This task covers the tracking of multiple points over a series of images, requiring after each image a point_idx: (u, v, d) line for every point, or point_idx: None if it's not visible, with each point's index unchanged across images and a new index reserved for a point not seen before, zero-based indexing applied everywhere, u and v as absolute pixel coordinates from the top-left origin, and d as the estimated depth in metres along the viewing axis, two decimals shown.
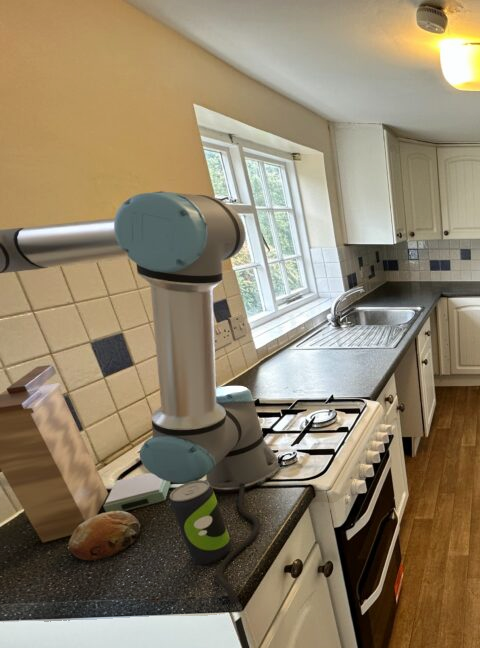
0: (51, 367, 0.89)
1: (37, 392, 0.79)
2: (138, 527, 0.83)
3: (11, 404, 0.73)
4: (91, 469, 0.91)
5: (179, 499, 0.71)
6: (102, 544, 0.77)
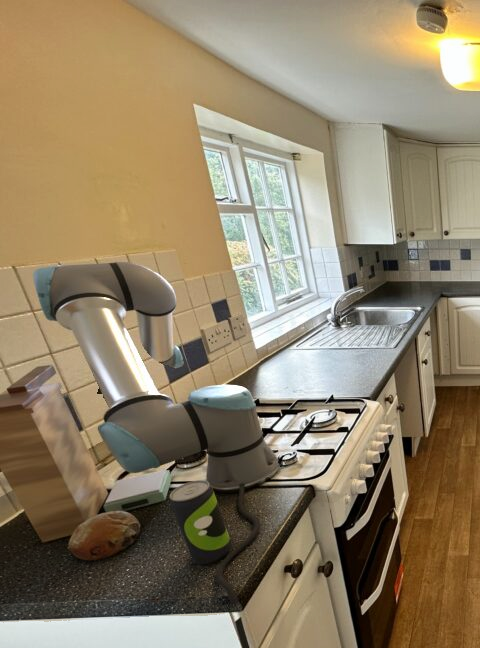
0: (51, 367, 0.89)
1: (37, 392, 0.79)
2: (138, 527, 0.83)
3: (11, 404, 0.73)
4: (91, 469, 0.91)
5: (179, 499, 0.71)
6: (102, 544, 0.77)
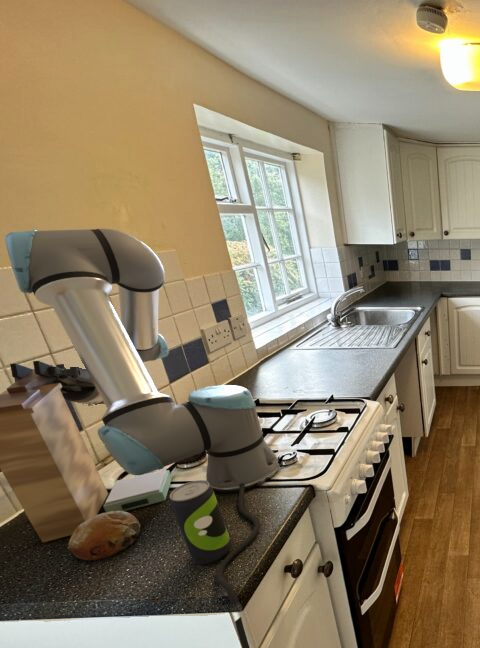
0: None
1: (37, 392, 0.79)
2: (138, 527, 0.83)
3: (11, 404, 0.73)
4: (91, 469, 0.91)
5: (179, 499, 0.71)
6: (102, 544, 0.77)
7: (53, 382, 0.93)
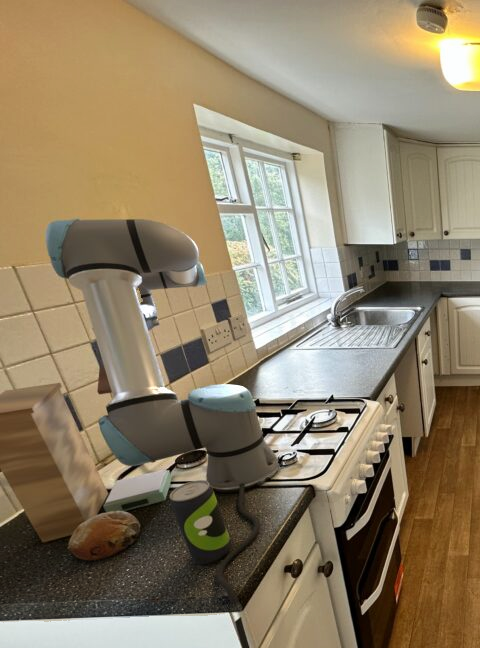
0: None
1: None
2: (138, 527, 0.83)
3: None
4: (91, 469, 0.91)
5: (179, 499, 0.71)
6: (102, 544, 0.77)
7: None
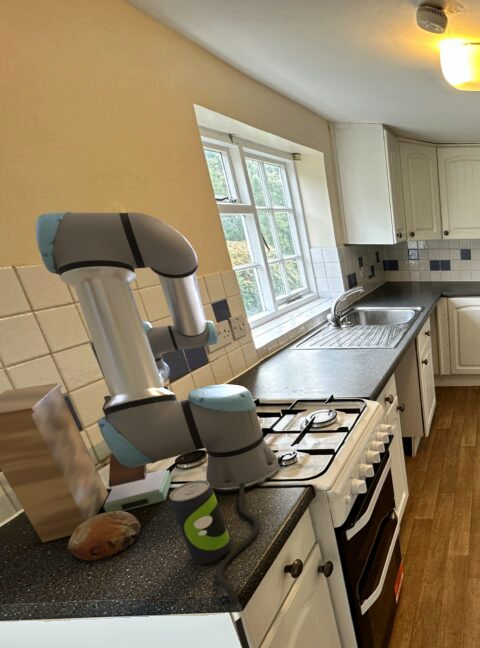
0: None
1: None
2: (138, 527, 0.83)
3: (135, 476, 0.90)
4: (91, 469, 0.91)
5: (179, 499, 0.71)
6: (102, 544, 0.77)
7: None
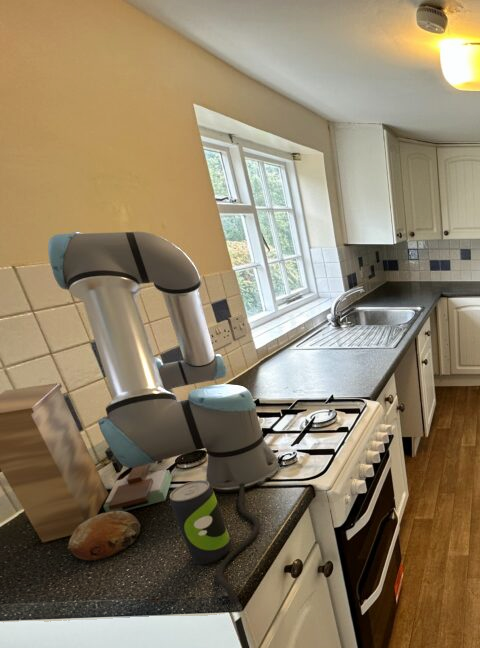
0: None
1: (151, 481, 0.94)
2: (138, 527, 0.83)
3: (136, 497, 0.88)
4: (91, 469, 0.91)
5: (179, 499, 0.71)
6: (102, 544, 0.77)
7: None
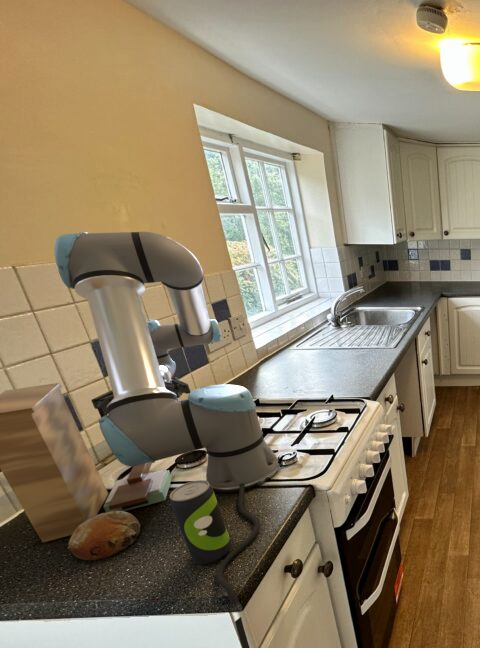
0: None
1: (151, 481, 0.94)
2: (138, 527, 0.83)
3: (136, 497, 0.88)
4: (91, 469, 0.91)
5: (179, 499, 0.71)
6: (102, 544, 0.77)
7: None
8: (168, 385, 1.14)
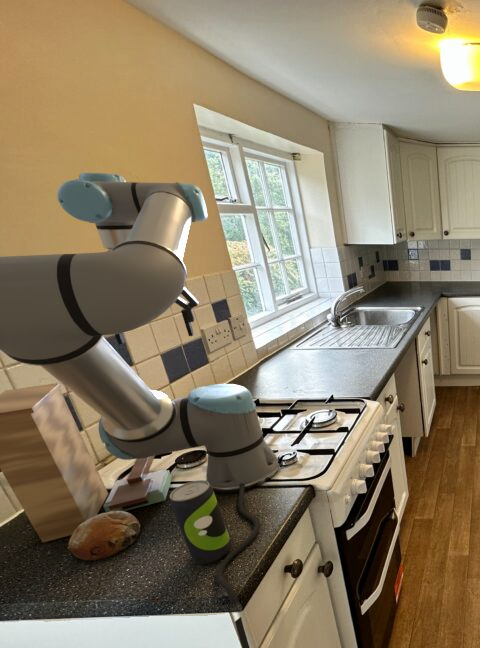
0: None
1: (151, 481, 0.94)
2: (138, 527, 0.83)
3: (136, 497, 0.88)
4: (91, 469, 0.91)
5: (179, 499, 0.71)
6: (102, 544, 0.77)
7: None
8: None
